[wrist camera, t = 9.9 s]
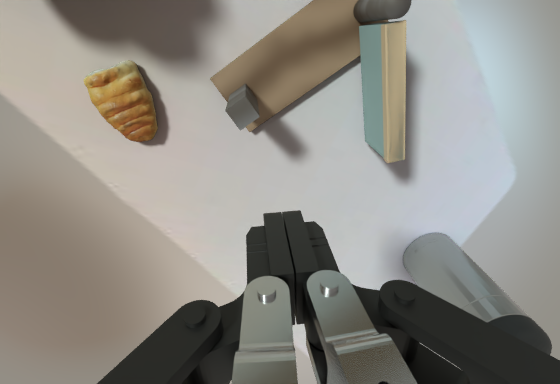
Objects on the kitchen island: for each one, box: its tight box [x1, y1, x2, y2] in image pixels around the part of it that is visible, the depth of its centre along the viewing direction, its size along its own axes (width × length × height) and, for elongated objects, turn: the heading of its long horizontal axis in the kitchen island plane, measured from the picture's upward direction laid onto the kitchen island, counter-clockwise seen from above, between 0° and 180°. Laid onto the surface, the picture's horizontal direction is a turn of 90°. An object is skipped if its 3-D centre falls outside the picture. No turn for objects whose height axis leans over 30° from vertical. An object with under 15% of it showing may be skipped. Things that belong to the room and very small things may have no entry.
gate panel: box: [359, 20, 406, 163], centre depth 35 cm, size 2×14×8 cm, turn 11°
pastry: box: [84, 60, 158, 142], centre depth 37 cm, size 9×7×4 cm
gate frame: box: [210, 0, 411, 132], centre depth 33 cm, size 8×21×10 cm, turn 124°
